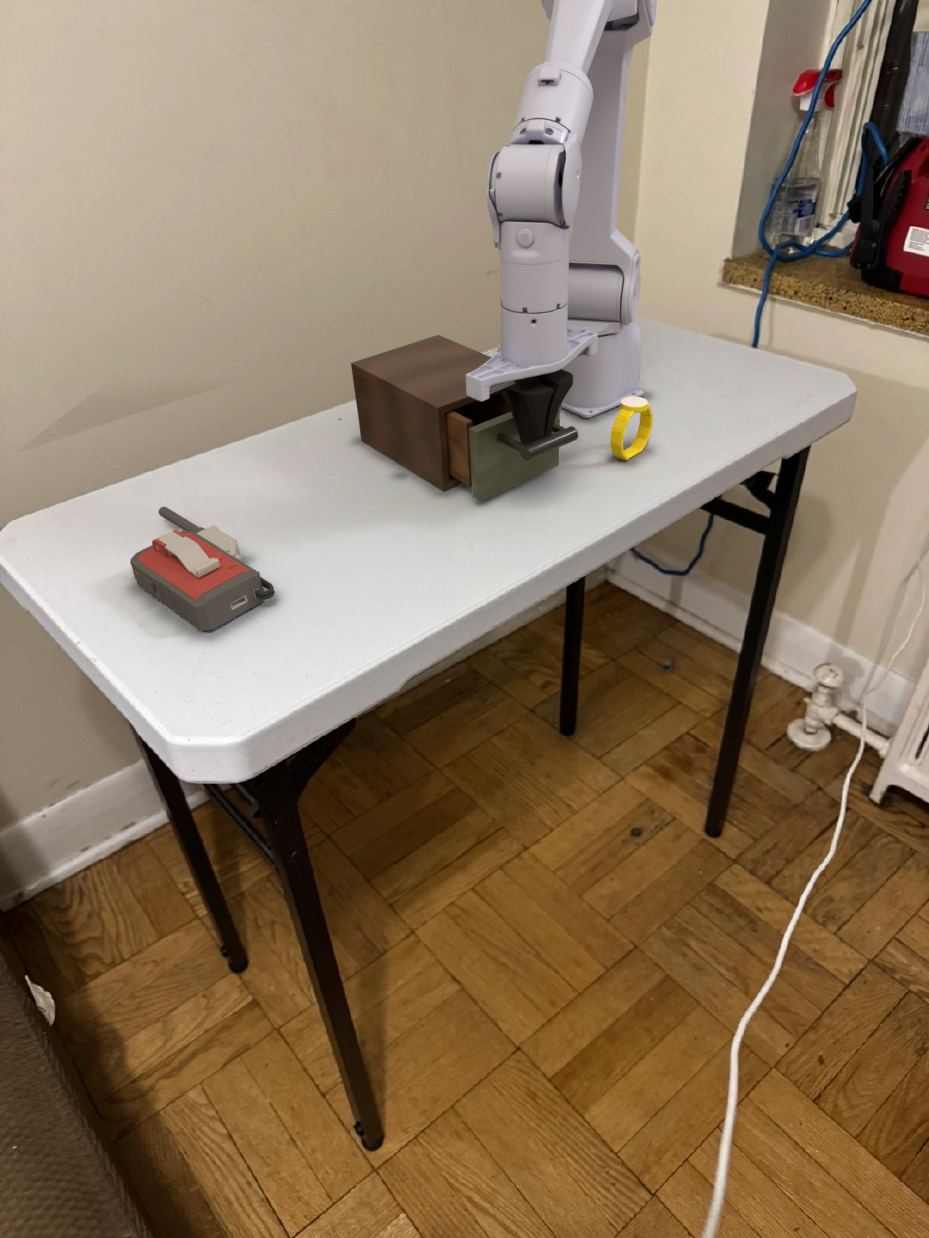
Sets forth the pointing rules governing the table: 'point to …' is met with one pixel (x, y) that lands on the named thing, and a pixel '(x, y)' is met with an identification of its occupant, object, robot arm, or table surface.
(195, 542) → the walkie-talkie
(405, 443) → the cabinet
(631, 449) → the watch
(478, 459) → the drawer
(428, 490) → the table surface
